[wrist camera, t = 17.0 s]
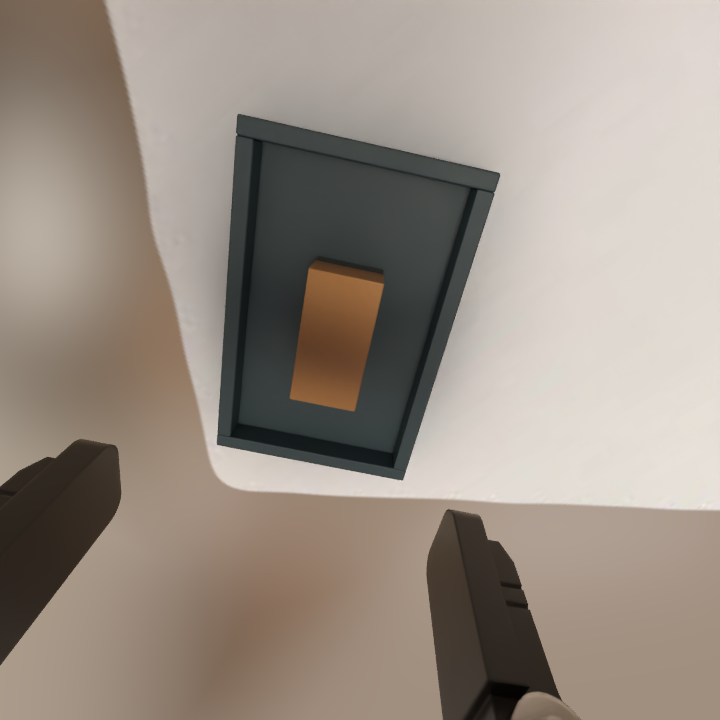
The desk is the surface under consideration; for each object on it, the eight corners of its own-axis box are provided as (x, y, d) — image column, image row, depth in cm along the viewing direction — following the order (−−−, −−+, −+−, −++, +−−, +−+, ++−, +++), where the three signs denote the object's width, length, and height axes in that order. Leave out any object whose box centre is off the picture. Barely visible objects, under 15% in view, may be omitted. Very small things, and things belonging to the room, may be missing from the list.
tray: (251, 119, 19) (236, 113, 17) (489, 173, 19) (501, 173, 17) (228, 425, 26) (216, 445, 24) (401, 459, 27) (403, 481, 25)
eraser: (318, 255, 21) (308, 267, 18) (383, 269, 21) (384, 283, 18) (299, 373, 24) (289, 399, 21) (357, 385, 24) (354, 412, 21)
